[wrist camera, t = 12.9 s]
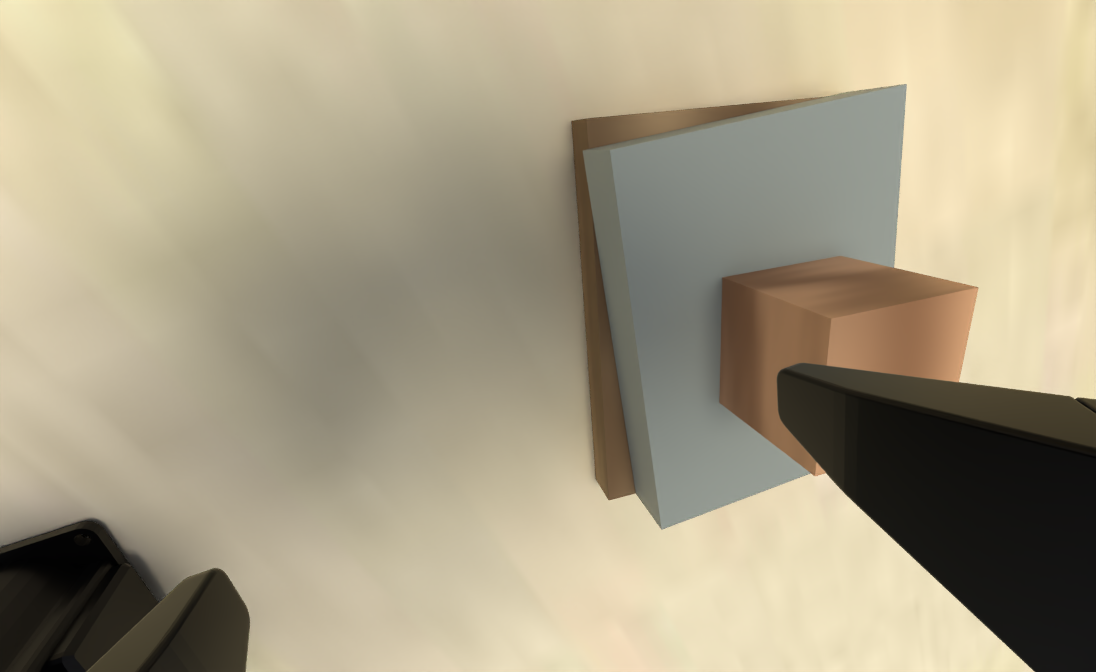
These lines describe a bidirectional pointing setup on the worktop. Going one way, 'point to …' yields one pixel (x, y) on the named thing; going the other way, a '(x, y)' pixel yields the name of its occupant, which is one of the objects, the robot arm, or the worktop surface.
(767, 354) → the terracotta block
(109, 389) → the worktop surface
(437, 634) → the worktop surface
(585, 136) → the walnut slab
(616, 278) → the slate grey slab
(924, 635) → the worktop surface
